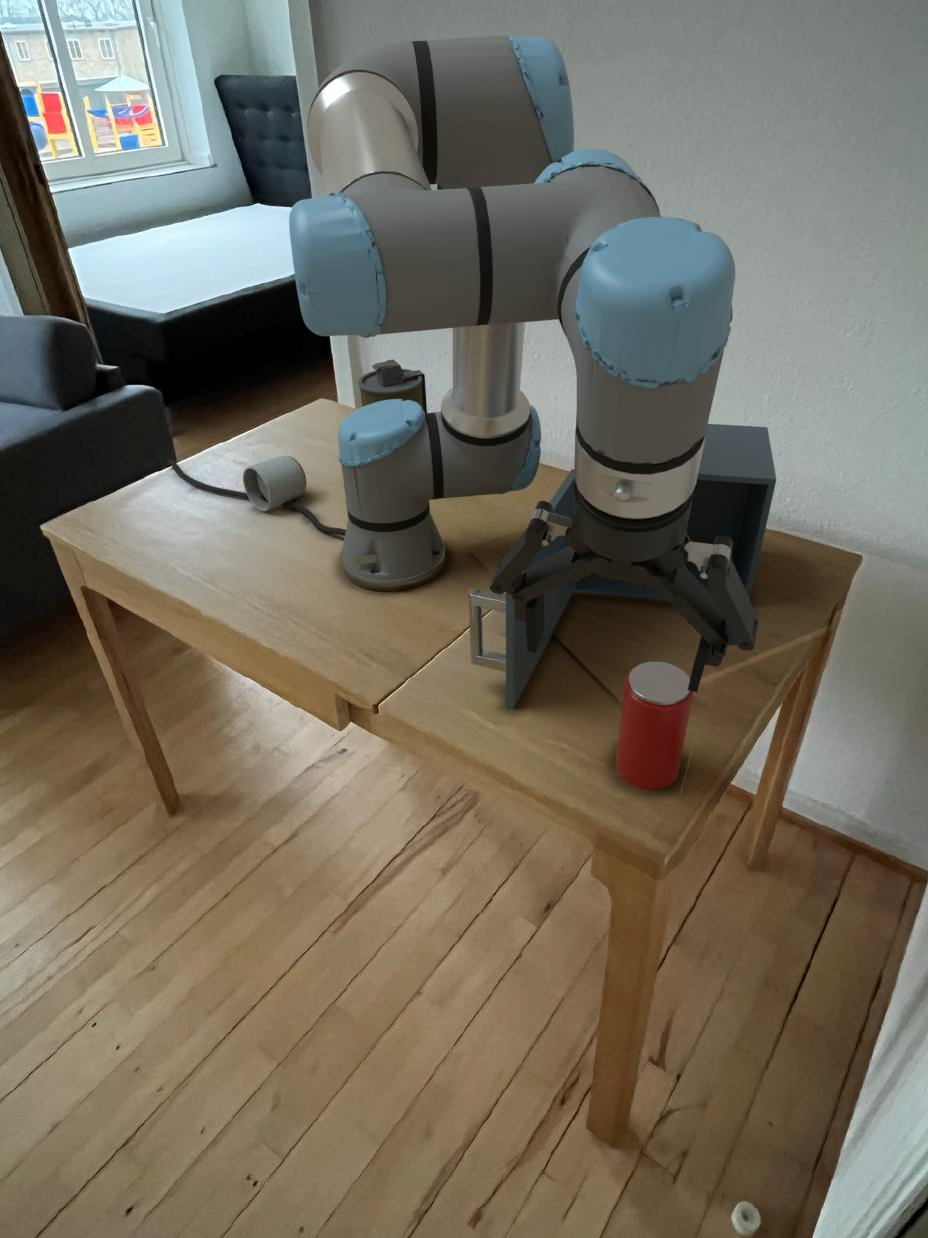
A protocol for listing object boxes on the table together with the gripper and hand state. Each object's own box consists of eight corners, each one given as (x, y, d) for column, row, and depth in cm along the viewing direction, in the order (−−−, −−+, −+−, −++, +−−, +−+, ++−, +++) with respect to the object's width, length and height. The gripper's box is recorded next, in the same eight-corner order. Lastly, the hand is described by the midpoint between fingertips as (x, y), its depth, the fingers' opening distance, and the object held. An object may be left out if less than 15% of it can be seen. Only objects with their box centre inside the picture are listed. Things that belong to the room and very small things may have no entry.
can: (610, 745, 89) (619, 660, 82) (670, 742, 89) (684, 657, 82) (622, 792, 84) (633, 705, 77) (685, 788, 84) (702, 702, 77)
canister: (380, 495, 137) (368, 379, 125) (361, 470, 144) (347, 358, 132) (440, 481, 140) (433, 367, 128) (417, 457, 148) (409, 347, 136)
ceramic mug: (313, 498, 136) (305, 456, 132) (273, 517, 132) (264, 474, 127) (274, 481, 142) (266, 440, 138) (235, 499, 138) (225, 457, 133)
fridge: (747, 612, 108) (776, 479, 96) (569, 594, 112) (576, 465, 100) (741, 552, 119) (767, 426, 107) (580, 538, 124) (588, 416, 112)
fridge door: (464, 696, 96) (458, 559, 84) (529, 588, 113) (531, 462, 102) (513, 709, 94) (514, 570, 82) (571, 597, 111) (579, 469, 100)
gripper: (429, 486, 52) (460, 658, 70) (837, 567, 46) (759, 735, 63) (467, 409, 56) (487, 591, 74) (849, 474, 50) (773, 656, 67)
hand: (613, 658), depth 69 cm, fingers open, 13 cm apart
